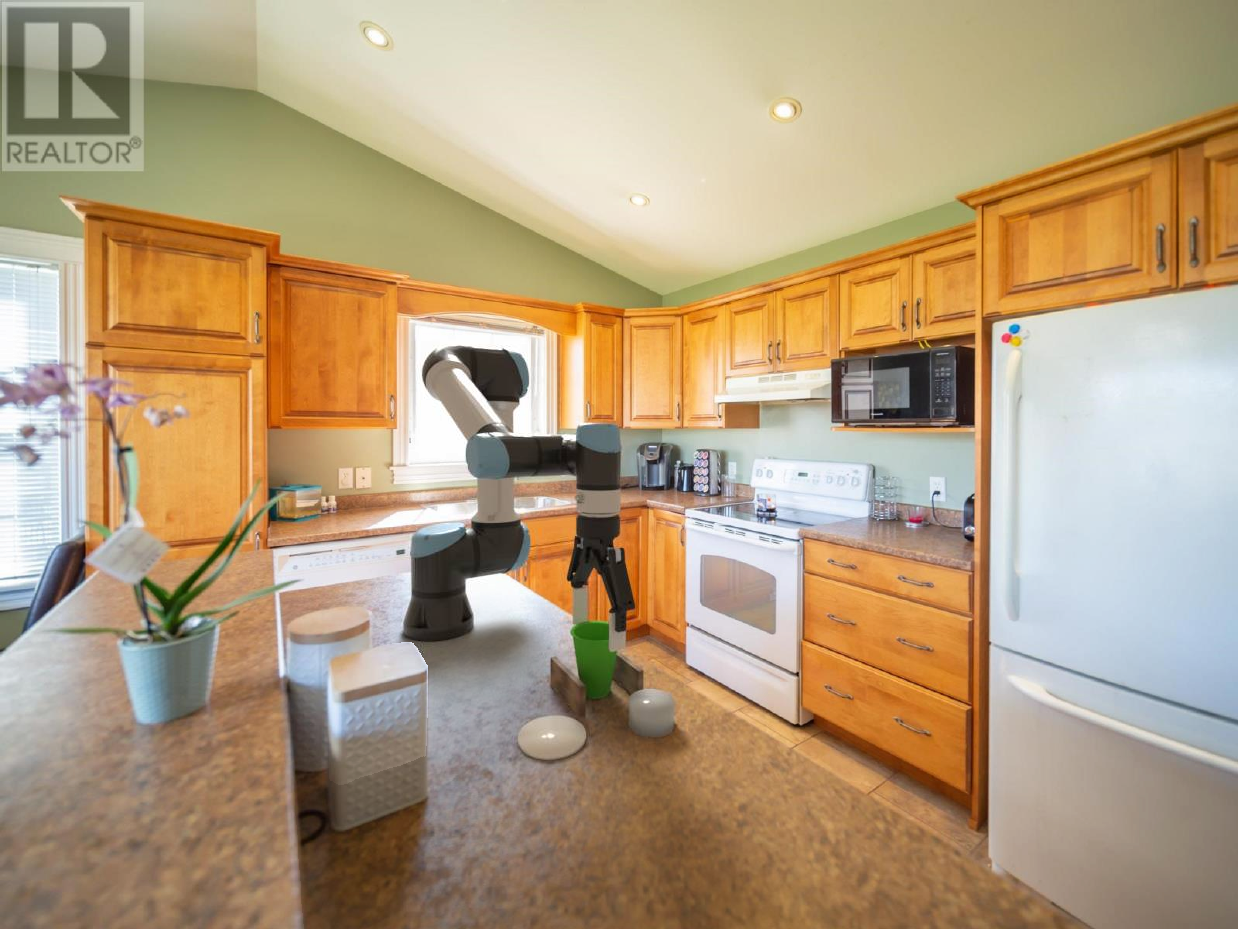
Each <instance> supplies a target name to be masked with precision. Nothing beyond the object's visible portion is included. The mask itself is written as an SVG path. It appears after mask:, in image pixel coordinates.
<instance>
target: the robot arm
mask: <svg viewBox="0 0 1238 929" xmlns="http://www.w3.org/2000/svg"><path fill="white" fill-rule="evenodd" d="M527 364H528V363H527V361H526V360H525V358H524V357H523V355H522V354H521V353H520V352H519V351H517V350H516V349H510V348H507V347H506V348H505V347H504V346H491V345H482V344H473V343H465V342H449V343H446V344H443V345H441V346H438V347H437V348H435V349H434V350H432V351H431V352H430V353H429V354H428V356H427V357H426V359H425V360H424V362H423V365H422V368H421V379H422V382H423V386H424V387H425V389H426V391H427V392H428V394H429V395H430V396H431V397H432V398H433V399H434V400H437V401H439V402H441V404H442V405H443V407H444V409H445V410H446V411H447V413H448V415H449V416H450V417H451V419H452V420H453V422H454V423H455V425H456V427H457V428H458V429H459V432H461V434H462V435H463V437H464V438H465V440H466V441H467V443H466V446H465V463H466V464H467V470H468V472H469V473H470V475H471V476H472V477H474V478H476V480H477V482H476V486H477V487H476V489H477V490H476V491H477V492H476V494H477V512H476V513H475V514H474V515H473V516H472V517H471V518H470V521H471V522H470V524H471V525H470V527H466V524H465V523H463V522H458V521H453V522H451V521H450V522H441V523H436V524H431V525H429V526H428V525H427V526H424V527H422V528H420V529H418V530H416V531H415V532H414V533H413V535H412V536H411V539H410V540H411V541H410V551H409V556H410V570H411V571H410V579H411V580H410V583H411V584H410V587H411V590H410V591H411V592H410V595H411V598H410V599H409V600H410V601H409V603H408V606H407V610H406V612H405V616H404V619H403V621H402V622H403V624H402V626H403V627H402V628H403V629H402V630H403V631H402V632H403V635H404V636H405V637H407V638H409V639H412V640H415V641H426V642H433V641H442V640H444V641H445V640H448V639H453V638H457V637H460V636H462V635H464V634H466V633H468V632H469V631H471V630H472V629H473V627H474V625H475V624H474V623H475V622H474V618H475V617H474V616H475V615H474V612H473V609H472V607H471V606H472V605H471V603H470V601H469V598H468V595H467V590H466V588H467V585H466V584H467V583H466V582H467V580H468V579H474V578H479V577H486V576H492V575H499V574H501V575H503V574H507V573H510V572H514V571H518V570H520V569H522V567H524V565H525V564H526V563H527V560H528V558H529V556H530V552H531V551H530V550H531V542H532V541H531V535H530V534H529V533H530V531H529V528H528V526H527V525H526V524H525V523H523V522H522V521H521V515H519V514H518V513H517V512H516V510H515V478H527V477H529V478H531V477H534V478H535V477H554V476H559V477H560V476H570V477H575V478H576V495H575V496H574V500H575V501H576V512H578V513H579V514H577V515H576V516H575V519H576V520H575V535H574V542H573V548H572V554H571V558H570V562H569V567H568V569H567V574H566V580H567V582H569V583H570V586H571V588H572V624H573V626H575V625H577V624H579V623H582V622H587V621H589V620H588V619H589V616H588V615H589V614H588V613H589V603H588V602H589V588H588V587H587V586H589V582H588V580H589V578H590V576H591V574H592V572H593V569H594V570H596V572H597V575H599V576H600V577H601V579H602V582H603V586H604V588H605V591H606V594H607V598H608V600H609V603H610V607H611V608H610V609H609V611H608V622H609V651H611V652H614V651H621V650H626V649H627V647H626V646H627V643H626V642H627V615H628V614H627V613H628V611H633V610H635V609H636V603H635V599H634V595H633V591H632V586H631V581H630V575H629V573H628V567H627V564H626V552H625V548H624V547H616V548H615V545H614V540H615V539H616V538H618V537H620V534H621V516H620V515H619V514H618V513H619V512H621V472H622V471H621V464H622V463H621V461H622V459H621V458H622V443H621V441H622V440H621V428H620V427H619V425H618V424H616V423H611V422H608V423H607V422H583V423H579V424H578V425H577V426H576V432H575V434H568V433H567V434H566V433H560V434H559V433H555V434H549V433H548V434H535V433H527V434H526V433H515V432H514V412H515V410H516V409H517V408H518V407H519V406H520V403H521V402H520V400H521V399H522V398H524V397H525V396H526V395H527V393H528V390H529V389H528V388H529V387H530V386H529V385H530V372H529V368H528V365H527Z"/></svg>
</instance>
